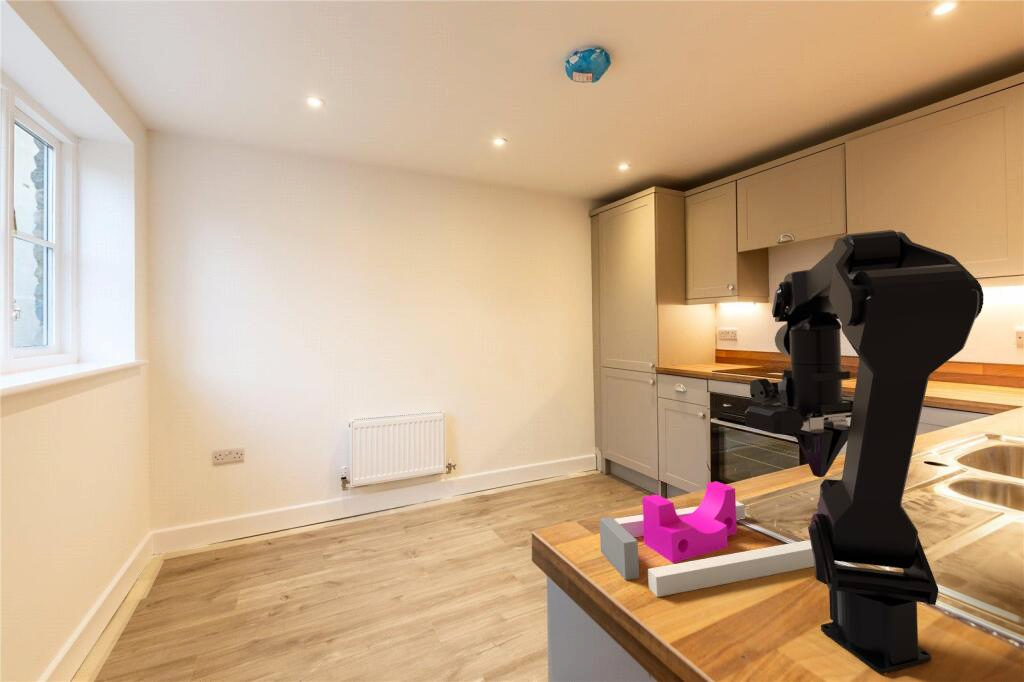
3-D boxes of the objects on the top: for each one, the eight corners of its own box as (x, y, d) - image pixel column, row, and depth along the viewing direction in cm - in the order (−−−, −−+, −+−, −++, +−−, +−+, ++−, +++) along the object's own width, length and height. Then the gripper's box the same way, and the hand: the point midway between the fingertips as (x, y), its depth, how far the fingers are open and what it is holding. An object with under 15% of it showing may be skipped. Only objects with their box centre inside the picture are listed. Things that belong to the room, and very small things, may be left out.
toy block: (672, 564, 62) (670, 512, 62) (644, 545, 68) (642, 497, 68) (750, 541, 68) (748, 493, 68) (718, 525, 74) (716, 481, 73)
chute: (825, 564, 60) (824, 528, 60) (642, 599, 54) (640, 560, 54) (736, 514, 77) (735, 486, 77) (589, 537, 71) (587, 507, 71)
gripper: (818, 356, 70) (821, 453, 70) (716, 363, 66) (720, 466, 66) (893, 360, 59) (896, 475, 59) (775, 369, 55) (779, 492, 55)
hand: (818, 476), depth 60 cm, fingers closed
